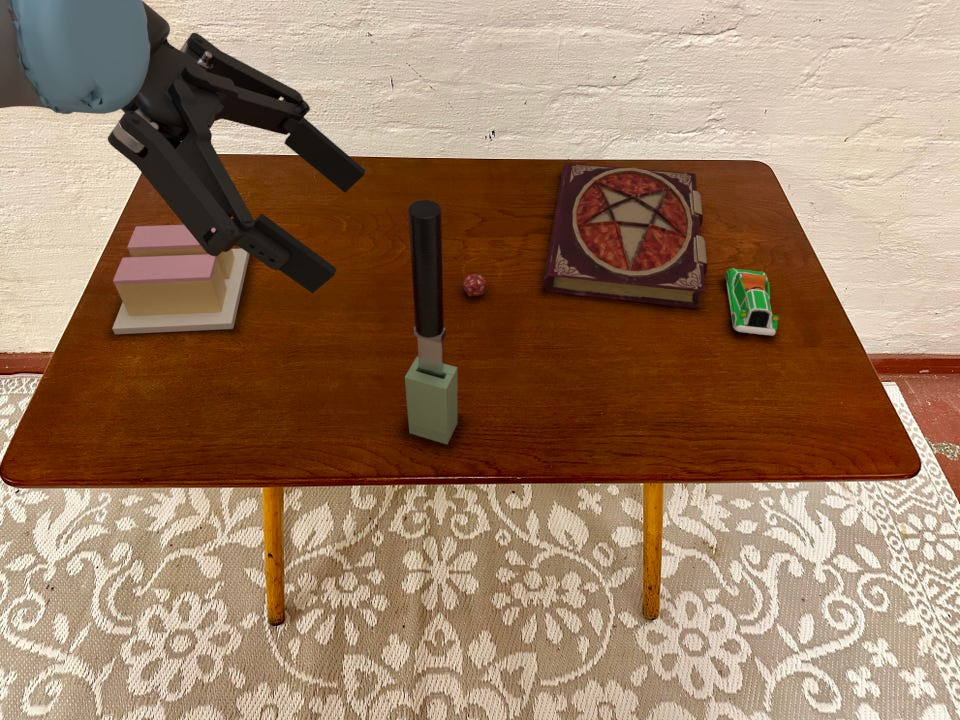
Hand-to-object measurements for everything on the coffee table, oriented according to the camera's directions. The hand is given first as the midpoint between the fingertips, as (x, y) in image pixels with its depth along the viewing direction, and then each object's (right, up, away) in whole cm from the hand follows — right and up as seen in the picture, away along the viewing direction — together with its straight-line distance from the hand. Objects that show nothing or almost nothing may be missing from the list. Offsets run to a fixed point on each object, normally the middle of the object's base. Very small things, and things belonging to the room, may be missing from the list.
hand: (341, 227), depth 55 cm
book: (+32, +7, +43) cm, 55 cm away
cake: (-27, -2, +33) cm, 42 cm away
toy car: (+46, -4, +33) cm, 57 cm away
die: (+11, -2, +34) cm, 36 cm away
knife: (+6, -17, +17) cm, 25 cm away
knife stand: (+6, -18, +18) cm, 27 cm away
